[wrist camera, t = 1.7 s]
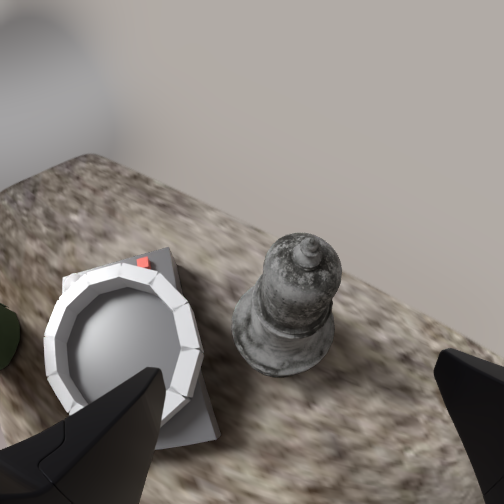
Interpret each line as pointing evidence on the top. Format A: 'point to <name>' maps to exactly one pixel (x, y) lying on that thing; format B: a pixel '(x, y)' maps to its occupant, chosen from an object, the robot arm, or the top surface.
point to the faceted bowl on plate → (131, 342)
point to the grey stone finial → (289, 307)
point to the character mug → (8, 335)
